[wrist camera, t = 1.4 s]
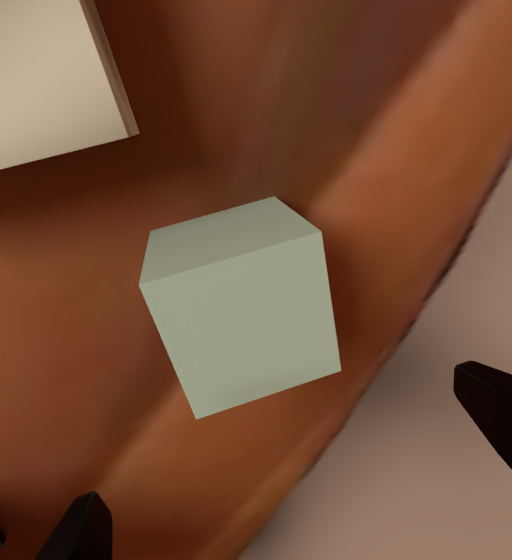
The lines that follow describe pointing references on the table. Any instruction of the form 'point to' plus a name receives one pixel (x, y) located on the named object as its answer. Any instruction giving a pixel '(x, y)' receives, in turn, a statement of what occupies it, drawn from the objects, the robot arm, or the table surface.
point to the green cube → (241, 303)
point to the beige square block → (57, 81)
